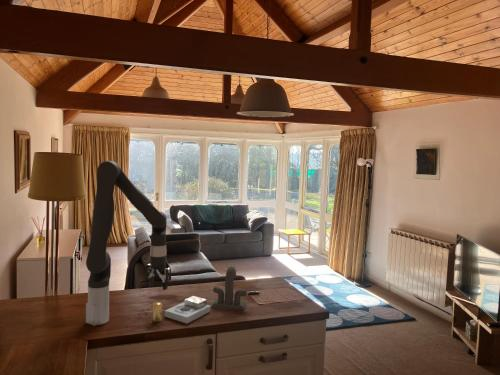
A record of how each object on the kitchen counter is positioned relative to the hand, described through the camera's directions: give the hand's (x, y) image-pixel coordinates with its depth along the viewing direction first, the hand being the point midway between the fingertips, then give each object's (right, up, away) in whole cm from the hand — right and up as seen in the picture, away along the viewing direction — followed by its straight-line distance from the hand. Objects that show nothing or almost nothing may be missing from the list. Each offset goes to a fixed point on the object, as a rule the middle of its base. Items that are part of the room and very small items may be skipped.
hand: (158, 287), depth 187 cm
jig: (+13, -16, +10) cm, 22 cm away
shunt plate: (+16, -12, +14) cm, 25 cm away
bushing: (-1, -16, +1) cm, 16 cm away
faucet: (+33, -15, +25) cm, 44 cm away
